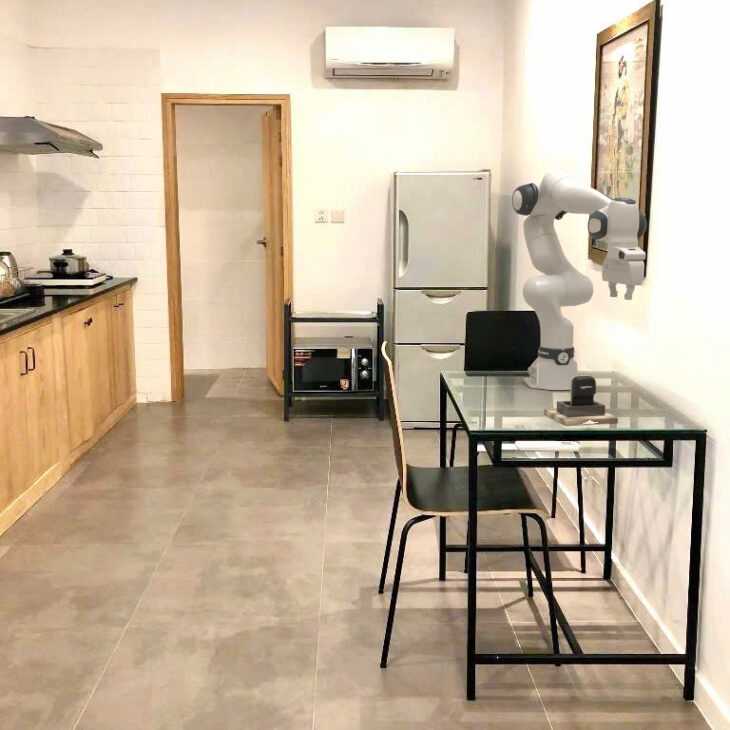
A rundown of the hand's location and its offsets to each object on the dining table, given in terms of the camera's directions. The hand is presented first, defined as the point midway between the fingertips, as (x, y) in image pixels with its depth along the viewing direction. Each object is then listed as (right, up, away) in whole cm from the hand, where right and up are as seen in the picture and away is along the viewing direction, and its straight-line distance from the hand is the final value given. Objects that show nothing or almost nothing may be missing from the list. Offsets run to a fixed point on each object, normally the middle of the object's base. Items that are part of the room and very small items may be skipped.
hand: (620, 298), depth 275 cm
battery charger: (-14, -35, -10) cm, 39 cm away
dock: (-14, -36, -8) cm, 40 cm away
